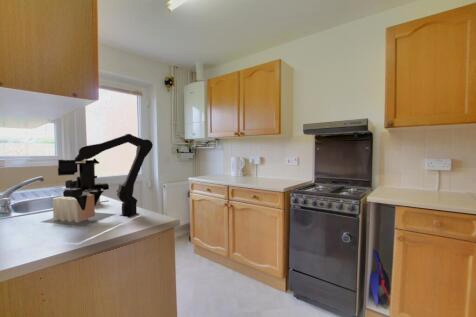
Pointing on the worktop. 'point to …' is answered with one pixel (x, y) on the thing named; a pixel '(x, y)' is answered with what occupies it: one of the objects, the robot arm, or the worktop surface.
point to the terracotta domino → (89, 207)
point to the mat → (82, 223)
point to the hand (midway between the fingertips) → (88, 208)
